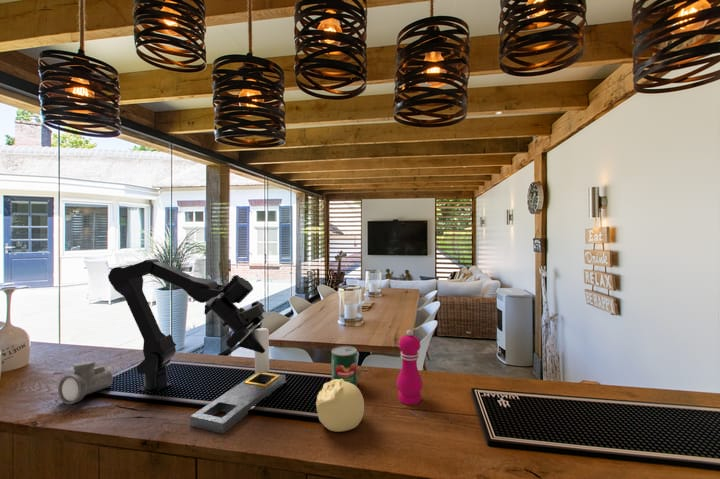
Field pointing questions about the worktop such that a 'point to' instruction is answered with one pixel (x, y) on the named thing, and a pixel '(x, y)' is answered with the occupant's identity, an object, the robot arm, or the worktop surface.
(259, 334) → the peg
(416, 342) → the pepper mill
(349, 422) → the sculpture
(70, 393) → the grey flashlight
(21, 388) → the worktop surface
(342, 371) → the canned tomato
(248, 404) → the grey board with holes
